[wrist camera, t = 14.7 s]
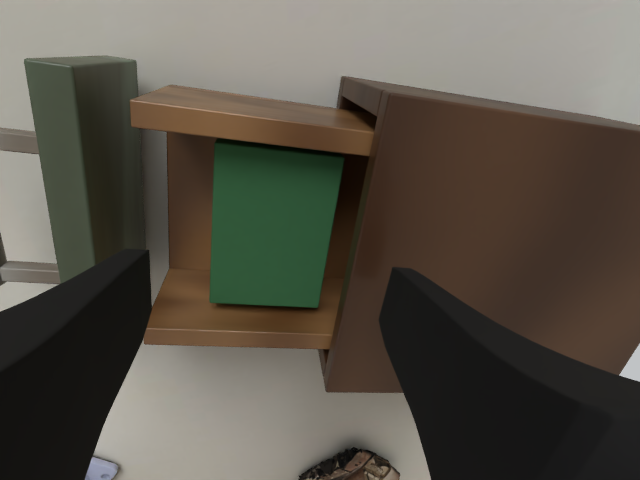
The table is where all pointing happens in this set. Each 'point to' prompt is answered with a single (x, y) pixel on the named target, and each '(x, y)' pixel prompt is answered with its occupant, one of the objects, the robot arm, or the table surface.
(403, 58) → the table surface
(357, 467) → the airplane wreck
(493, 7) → the table surface
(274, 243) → the sponge
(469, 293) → the cabinet
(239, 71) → the table surface
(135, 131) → the drawer
